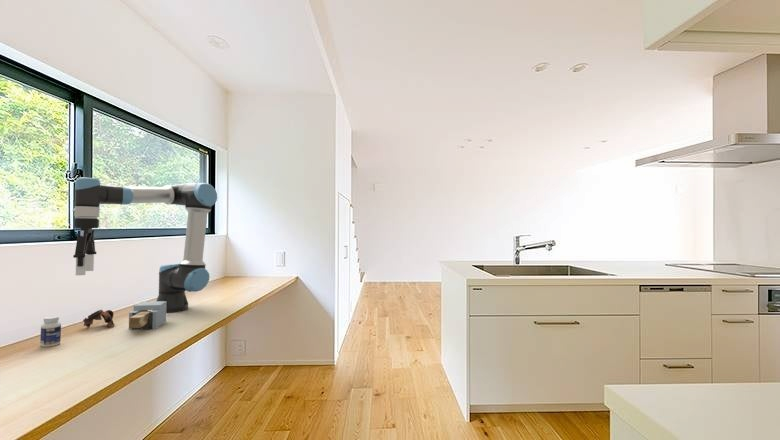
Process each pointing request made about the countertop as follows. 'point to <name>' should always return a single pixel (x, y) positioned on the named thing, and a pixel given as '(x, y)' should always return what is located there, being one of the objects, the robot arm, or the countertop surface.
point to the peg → (139, 319)
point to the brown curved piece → (97, 316)
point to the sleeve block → (151, 313)
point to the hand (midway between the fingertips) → (84, 273)
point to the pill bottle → (50, 332)
